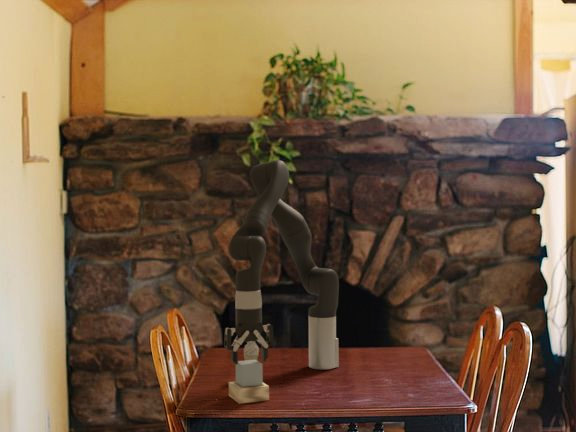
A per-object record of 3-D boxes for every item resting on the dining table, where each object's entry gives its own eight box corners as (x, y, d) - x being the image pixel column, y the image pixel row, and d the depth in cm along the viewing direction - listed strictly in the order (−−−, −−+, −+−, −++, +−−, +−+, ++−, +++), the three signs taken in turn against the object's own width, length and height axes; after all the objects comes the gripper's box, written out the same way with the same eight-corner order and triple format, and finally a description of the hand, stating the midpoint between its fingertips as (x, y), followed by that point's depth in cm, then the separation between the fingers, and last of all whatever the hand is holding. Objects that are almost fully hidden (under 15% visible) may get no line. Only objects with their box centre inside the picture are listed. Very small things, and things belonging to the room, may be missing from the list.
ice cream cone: (261, 378, 243) (261, 331, 243) (255, 382, 239) (255, 334, 238) (246, 377, 245) (246, 330, 245) (240, 381, 240) (240, 333, 240)
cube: (255, 380, 224) (255, 359, 224) (262, 384, 219) (262, 363, 218) (235, 382, 222) (235, 361, 222) (242, 386, 216) (242, 365, 216)
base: (258, 392, 226) (257, 378, 226) (269, 400, 218) (269, 385, 218) (228, 395, 223) (228, 381, 223) (239, 403, 214) (238, 388, 214)
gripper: (267, 302, 226) (268, 357, 226) (220, 306, 220) (221, 362, 221) (276, 305, 219) (277, 362, 219) (229, 309, 213) (230, 367, 214)
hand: (249, 362), depth 220 cm, fingers open, 8 cm apart
